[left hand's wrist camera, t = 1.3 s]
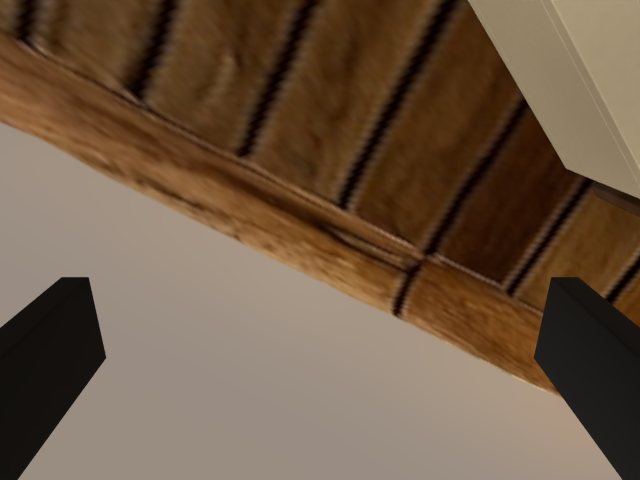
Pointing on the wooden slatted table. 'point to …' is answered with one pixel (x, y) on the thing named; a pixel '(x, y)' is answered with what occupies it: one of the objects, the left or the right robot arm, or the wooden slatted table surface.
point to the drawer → (617, 198)
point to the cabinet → (577, 78)
